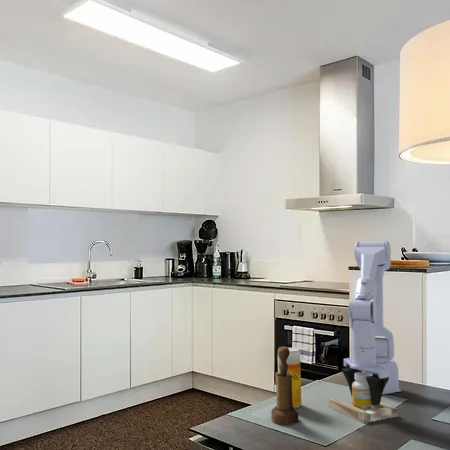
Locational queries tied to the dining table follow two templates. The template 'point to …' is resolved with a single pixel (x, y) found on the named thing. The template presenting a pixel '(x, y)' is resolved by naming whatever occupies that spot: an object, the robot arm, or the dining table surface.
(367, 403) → the supplement bottle
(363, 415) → the slide channel
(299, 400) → the beer can
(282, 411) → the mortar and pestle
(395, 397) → the dining table surface
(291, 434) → the dining table surface
